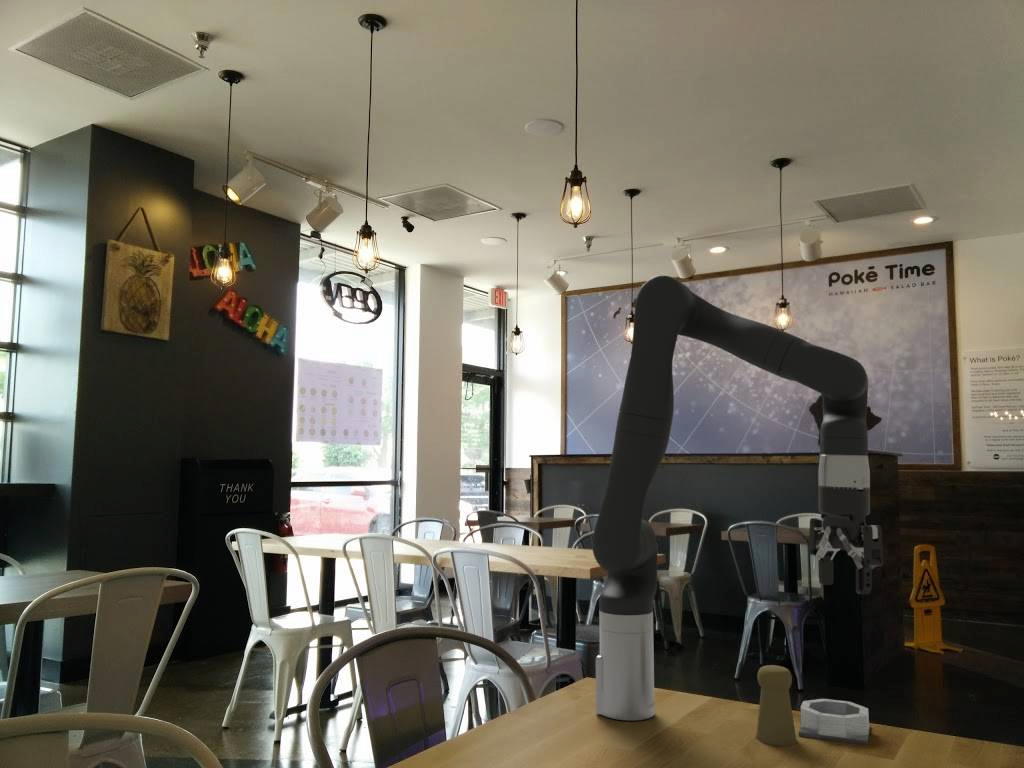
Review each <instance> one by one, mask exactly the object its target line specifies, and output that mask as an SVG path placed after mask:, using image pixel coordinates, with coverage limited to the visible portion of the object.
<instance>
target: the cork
mask: <svg viewBox="0 0 1024 768" xmlns="http://www.w3.org/2000/svg"><path fill="white" fill-rule="evenodd" d="M756 675H757V683H758V685H759V686H760V687H761V688H760V698H759V705H758V707H759V708H758V717H757V726H756V735H755V737H756V740H758V741H759V742H761V743H763V744H767V745H771V746H791V745H794V744H796V743H797V736H796V735H797V734H796V729H795V727H796V726H795V721H794V716H793V710H792V703H791V697H790V688H791V686H792V683H793V677H792V673H791V671H790V670H789V669H788V668H786V667H784V666H780V665H775V664H769V665H763V666H761V667H760V668H759V669H758V671H757V674H756Z"/></svg>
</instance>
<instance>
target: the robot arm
mask: <svg viewBox="0 0 1024 768" xmlns="http://www.w3.org/2000/svg"><path fill="white" fill-rule="evenodd" d="M634 304H635V305H634V315H633V316H634V317H633V329H632V344H631V351H630V358H629V364H628V368H627V370H626V376H625V379H624V381H625V382H624V386H623V391H622V397H621V402H620V406H619V409H618V410H619V411H618V415H617V416H618V417H617V421H616V427H615V432H614V441H613V447H612V454H611V458H610V462H609V463H610V465H609V471H608V477H607V483H606V487H605V490H604V496H603V499H602V503H601V506H600V509H599V513H598V516H597V520H596V523H595V527H594V530H593V535H592V540H591V541H592V543H591V544H592V547H591V548H592V549H591V550H592V553H593V556H594V559H595V561H596V563H597V564H598V565H599V567H600V568H602V569H603V570H604V571H606V572H607V578H606V583H605V585H604V587H603V589H602V591H601V593H600V594H599V598H598V607H599V609H598V611H599V615H598V616H599V623H598V624H599V654H598V655H597V656H596V657H595V714H596V715H601V716H604V717H606V718H609V719H614V720H620V721H642V720H648V719H650V718H653V716H654V715H655V670H654V669H655V668H654V667H655V666H654V665H655V661H654V660H655V659H654V656H655V654H654V651H655V650H654V600H655V596H656V593H657V588H658V587H657V585H658V542H657V537H656V534H655V531H654V529H653V528H652V526H651V525H650V524H649V523H648V521H646V520H645V519H644V518H643V515H644V509H645V504H646V499H647V495H648V492H649V490H650V487H651V484H652V482H653V480H654V478H655V476H656V474H657V473H658V470H659V468H660V466H661V464H662V461H663V459H664V456H665V455H666V452H667V448H668V445H669V440H670V435H671V430H672V422H673V419H674V418H673V417H674V407H675V406H674V405H675V403H674V402H675V399H674V398H675V396H674V393H675V392H674V391H675V390H674V379H673V378H674V377H673V361H674V354H675V349H676V345H677V340H678V338H679V337H678V336H681V337H687V338H690V339H693V340H696V341H700V342H704V343H706V344H709V345H711V346H714V347H716V348H719V349H721V350H723V351H725V352H727V353H729V354H731V355H733V356H735V357H737V358H738V359H740V360H743V361H744V362H746V363H748V364H751V365H753V366H755V367H757V368H758V369H761V370H763V371H766V372H768V373H770V374H773V375H775V376H777V377H780V378H781V379H782V378H783V379H785V380H788V381H793V382H796V383H799V384H800V385H802V386H805V387H807V388H809V389H811V390H813V391H815V392H818V393H819V394H822V422H821V425H820V431H819V439H820V440H819V451H820V452H819V454H820V455H819V464H818V512H819V513H820V514H822V515H824V516H823V517H818V518H817V517H815V518H814V517H812V518H810V519H809V533H808V534H809V536H808V537H809V538H808V539H809V540H808V553H809V555H810V556H815V559H816V560H817V561H818V562H817V563H818V564H817V565H818V567H817V568H818V583H819V584H820V585H823V586H831V585H834V573H835V572H834V571H835V570H834V561H833V559H834V557H835V555H836V554H837V552H839V551H840V550H842V551H844V552H845V551H846V552H847V555H848V556H849V557H851V558H852V560H853V562H854V565H855V566H856V568H855V592H856V593H857V594H859V595H870V594H871V593H872V589H873V569H875V568H877V567H881V566H883V565H884V551H883V550H884V549H883V532H882V527H881V525H875V524H871V525H867V524H866V517H867V516H869V515H870V514H871V484H870V483H871V482H870V481H871V473H870V472H871V471H870V470H871V469H870V465H869V440H868V439H869V437H868V434H869V433H868V427H867V426H868V425H867V413H868V412H867V411H868V393H869V392H868V391H869V378H868V374H867V372H866V369H865V368H864V366H863V365H862V363H860V362H859V361H858V360H856V359H855V358H853V357H851V356H849V355H845V354H843V353H840V352H837V351H835V350H832V349H829V348H825V347H823V346H820V345H817V344H812V343H810V342H808V341H806V340H805V339H803V338H802V337H801V338H800V337H798V336H796V335H793V334H791V333H788V332H786V331H784V330H782V329H779V328H776V327H773V326H772V325H768V324H765V323H762V322H759V321H757V320H752V319H750V318H746V317H742V316H739V315H736V314H734V313H731V312H729V311H726V310H723V309H722V308H720V307H717V306H715V305H713V304H712V303H710V302H709V301H708V300H707V301H706V299H703V298H702V297H700V296H699V295H697V294H696V293H694V292H693V291H692V290H691V289H690V288H689V287H688V286H687V285H685V284H684V283H683V282H681V281H679V279H677V278H675V277H672V276H669V275H665V274H663V275H662V274H661V275H655V276H653V277H651V278H649V279H648V280H646V282H644V283H643V284H642V285H641V287H640V289H639V291H638V293H637V295H636V299H635V303H634ZM817 541H818V547H817ZM873 550H874V557H873ZM862 558H863V559H862Z"/></svg>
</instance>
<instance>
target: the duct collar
mask: <svg viewBox="0 0 1024 768" xmlns="http://www.w3.org/2000/svg"><path fill="white" fill-rule="evenodd" d="M869 719H870V718H869V708H868V707H865V706H863V705H860V704H857V703H854V702H852V701H847V700H837V699H836V700H835V699H830V698H817V699H810V700H803V701H802V703H801V705H800V727H799V730H798V737H804V738H811V739H819V740H826V741H835V742H841V743H843V742H844V743H851V744H856V745H857V744H858V745H865V746H868V745H869V744H868V743H869V737H870V729H871V723H870V721H869ZM869 724H870V725H869Z"/></svg>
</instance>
